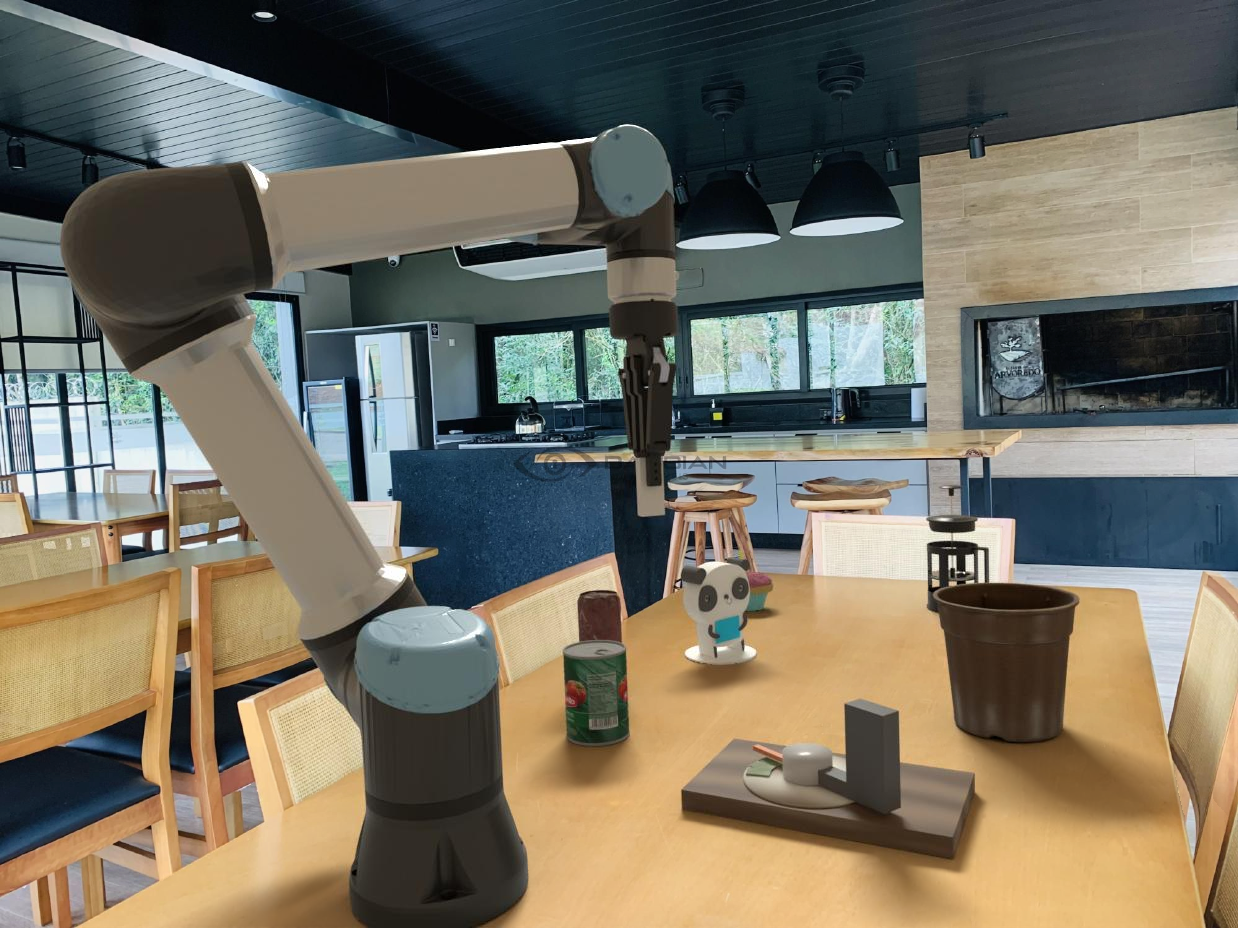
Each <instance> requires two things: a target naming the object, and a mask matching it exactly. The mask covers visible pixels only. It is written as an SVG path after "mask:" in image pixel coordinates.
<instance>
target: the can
mask: <svg viewBox="0 0 1238 928" xmlns="http://www.w3.org/2000/svg"><path fill="white" fill-rule="evenodd" d="M576 602H577V622H578V624H577V625H578V626H577V627H578V642H582V641H590V640H610V641H617V642H621V643H623V638H622V637H623V633H622V632H623V631H622V603H621V602H622V601H621V597H620V596H619V594H618V592H617V591H615V590H611V589H609V590H608V589H597V590H588V591H587V590H586V591H583V592H581V593H580V594H579V595H578V598H577V601H576Z"/></svg>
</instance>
